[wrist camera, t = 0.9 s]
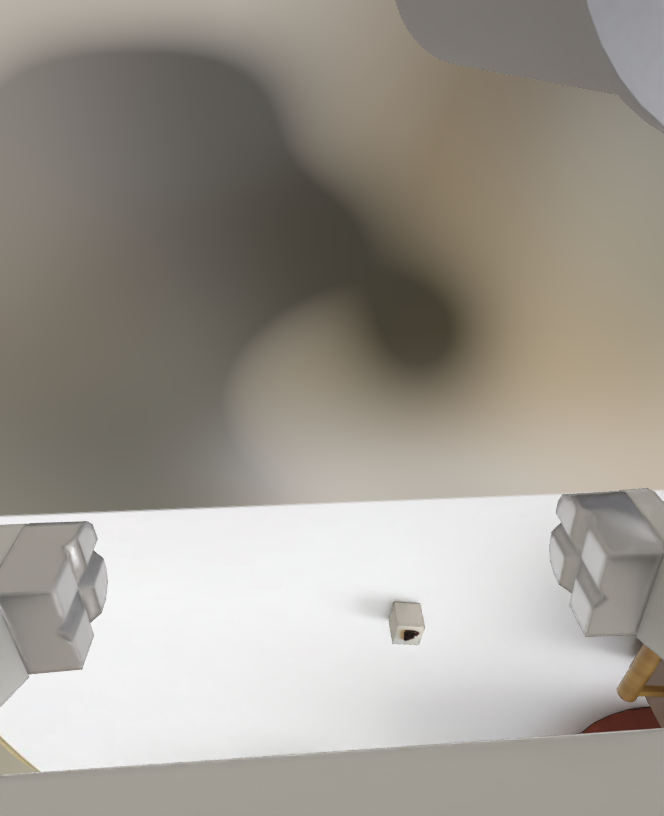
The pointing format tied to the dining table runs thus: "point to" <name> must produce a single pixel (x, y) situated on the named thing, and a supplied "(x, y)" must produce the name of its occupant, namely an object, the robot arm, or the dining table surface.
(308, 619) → the dining table surface
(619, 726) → the potted plant
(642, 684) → the drawer
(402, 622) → the cube with dark pebbles
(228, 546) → the dining table surface
